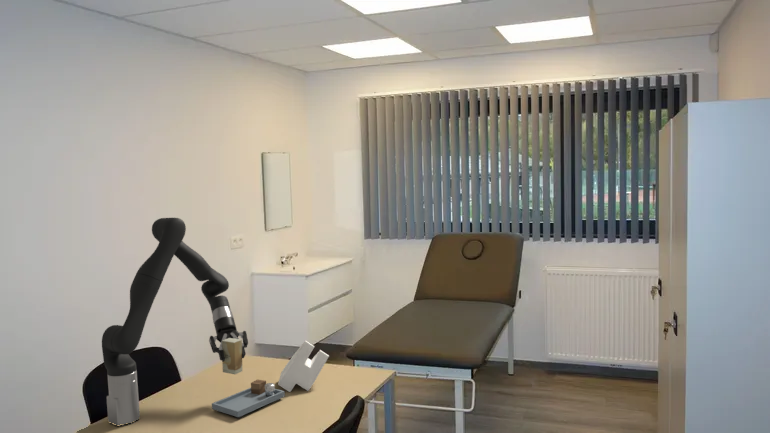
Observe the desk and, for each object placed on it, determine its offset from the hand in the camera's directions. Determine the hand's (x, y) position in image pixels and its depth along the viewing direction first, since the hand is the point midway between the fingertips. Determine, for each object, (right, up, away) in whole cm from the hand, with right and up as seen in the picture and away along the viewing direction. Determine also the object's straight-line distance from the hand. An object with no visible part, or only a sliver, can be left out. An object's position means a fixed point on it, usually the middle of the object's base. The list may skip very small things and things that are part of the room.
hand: (233, 358), depth 221 cm
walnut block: (+9, -14, +4) cm, 16 cm away
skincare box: (-1, -6, +2) cm, 6 cm away
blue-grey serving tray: (+7, -16, -4) cm, 18 cm away
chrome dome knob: (+13, -14, 0) cm, 19 cm away
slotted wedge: (+24, -14, +16) cm, 32 cm away
